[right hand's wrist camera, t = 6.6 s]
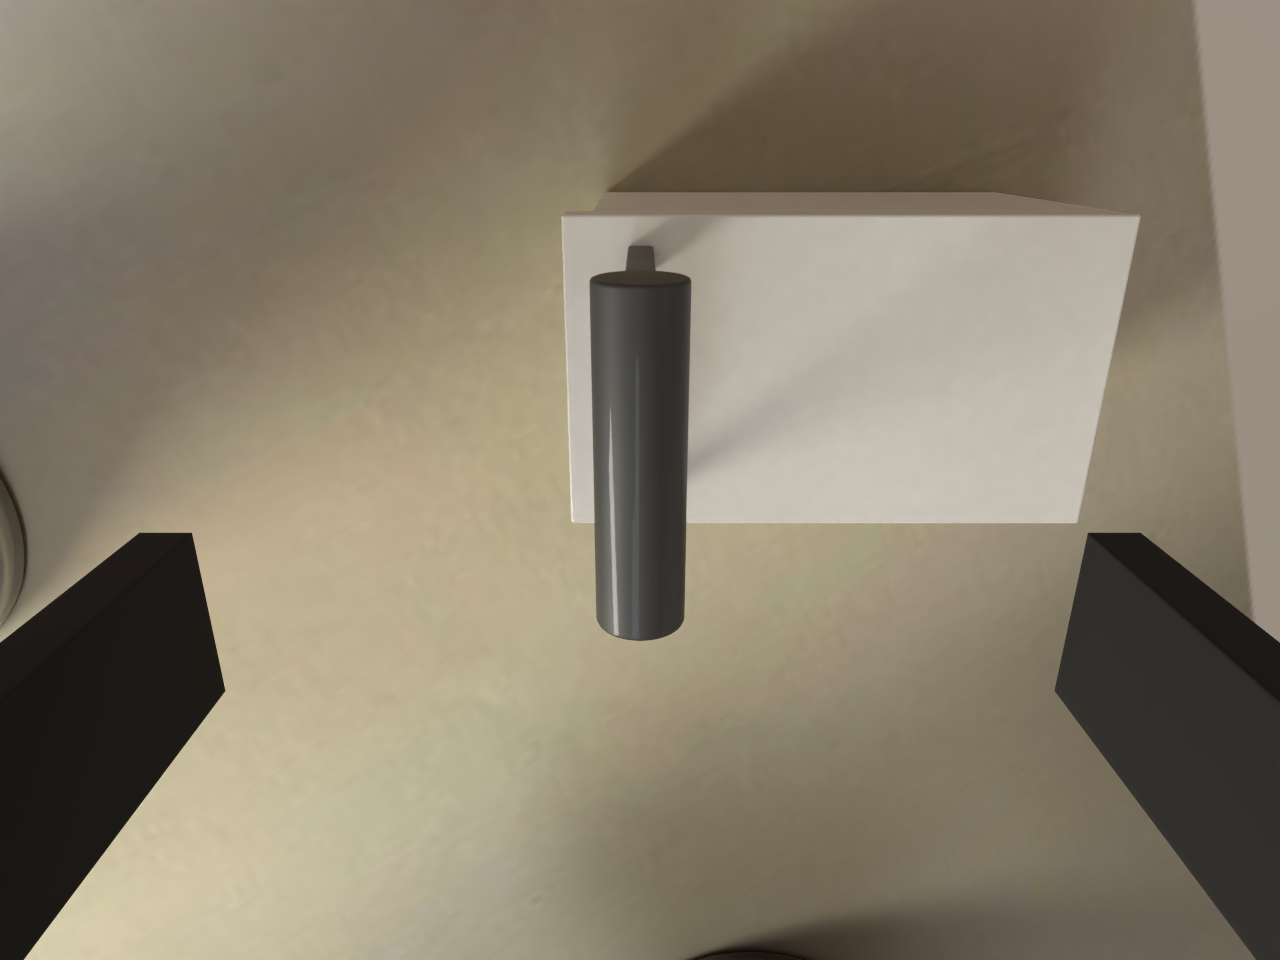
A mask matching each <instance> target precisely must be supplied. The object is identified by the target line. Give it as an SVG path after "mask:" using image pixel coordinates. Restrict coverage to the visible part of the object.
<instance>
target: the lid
mask: <svg viewBox="0 0 1280 960" xmlns="http://www.w3.org/2000/svg"><path fill="white" fill-rule="evenodd" d="M1140 220H1141V216H1140V215H1138V214H1133V213H1126V212H1120V211H567V212H565V213H564V214H563V215H562V217H561V222H562V253H563V283H564V314H565V345H566V376H567V407H568V438H569V469H570V499H571V521H572V522H573V523H595V566H596V613H597V621H598V623H599V625H600V626H601V628H602V629H603V630H605V631H606V632H607V633H609V634H611V635H613V636H616V637H619V638H622V639H627V640H636V641H645V640H654V639H659V638H662V637H665V636H668V635H670V634H672V633H673V632H675V631H676V630H677V629H678V628H679V627H680V626H681V624H682V623H683V620H684V605H685V559H686V523H1077V522H1078V520H1079V515H1080V510H1081V506H1082V501H1083V496H1084V491H1085V486H1086V481H1087V477H1088V472H1089V467H1090V462H1091V457H1092V452H1093V447H1094V443H1095V438H1096V433H1097V428H1098V423H1099V418H1100V413H1101V409H1102V404H1103V399H1104V394H1105V389H1106V384H1107V380H1108V375H1109V370H1110V365H1111V360H1112V355H1113V350H1114V346H1115V341H1116V336H1117V331H1118V326H1119V321H1120V317H1121V312H1122V307H1123V302H1124V297H1125V292H1126V287H1127V283H1128V278H1129V273H1130V268H1131V263H1132V258H1133V253H1134V249H1135V244H1136V239H1137V234H1138V229H1139V224H1140Z"/></svg>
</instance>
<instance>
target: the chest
mask: <svg viewBox="0 0 1280 960" xmlns="http://www.w3.org/2000/svg"><path fill="white" fill-rule="evenodd" d="M594 211H1114V210H1107V209H1101V208H1094V207H1088V206H1081V205H1075V204H1068V203H1062V202H1055V201H1049V200H1042V199H1035V198H1029V197H1022V196H1016V195H1009V194H1003V193H996V192H606V193H605V194H604V196H603V197H602V199H601V200H600V202H599V203H598V205H597V206H596V208H595V209H594Z"/></svg>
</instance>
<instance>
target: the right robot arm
mask: <svg viewBox="0 0 1280 960" xmlns="http://www.w3.org/2000/svg"><path fill="white" fill-rule="evenodd" d="M23 572H24V544H23V536H22V532H21V527H20V522H19V519H18V516H17V513H16V510H15V507H14V505H13V502H12V500H11V498H10V495H9V493H8V491H7V489H6V487H5V485H4V483H3V482H2V480H1V478H0V626H1V625H2V623H3V622H4V621H5V619H6V618H7V617H8V615H9V613H10V612H11V610H12V608H13V606H14V604H15V602H16V600H17V597H18V595H19V591H20V588H21V584H22V580H23ZM224 692H225V687H224V682H223V677H222V673H221V668H220V663H219V659H218V654H217V649H216V644H215V640H214V635H213V630H212V626H211V621H210V616H209V611H208V607H207V602H206V597H205V593H204V588H203V583H202V578H201V574H200V569H199V564H198V560H197V555H196V550H195V545H194V541H193V536H192V533H139V534H138V535H136V536H135V537H134V538H132V539H131V540H130V541H129V542H127V543H126V544H125V545H124V546H122V547H121V548H120V549H119V550H117V551H116V552H115V553H113V554H112V555H111V556H110V557H108V558H107V559H106V560H105V561H103V562H102V563H101V564H99V565H98V566H97V567H96V568H94V569H93V570H92V571H91V572H89V573H88V574H87V575H86V576H84V577H83V578H82V579H80V580H79V581H78V582H77V583H75V584H74V585H73V586H72V587H70V588H69V589H68V590H67V591H65V592H64V593H63V594H61V595H60V596H59V597H58V598H56V599H55V600H54V601H53V602H51V603H50V604H49V605H48V606H46V607H45V608H44V609H42V610H41V611H40V612H39V613H37V614H36V615H35V616H34V617H32V618H31V619H30V620H28V621H27V622H26V623H25V624H23V625H22V626H21V627H20V628H18V629H17V630H16V631H15V632H13V633H12V634H11V635H9V636H8V637H7V638H6V639H4V640H3V641H2V642H1V643H0V960H24V959H25V957H26V956H27V955H28V953H29V952H30V951H31V949H32V948H33V947H34V945H35V944H36V943H37V941H38V940H39V939H40V937H41V936H42V935H43V933H44V932H45V931H46V929H47V928H48V927H49V925H50V924H51V923H52V921H53V920H54V919H55V917H56V916H57V915H58V913H59V912H60V911H61V909H62V908H63V907H64V905H65V904H66V903H67V901H68V900H69V899H70V897H71V896H72V895H73V893H74V892H75V891H76V889H77V888H78V887H79V885H80V884H81V883H82V881H83V880H84V879H85V877H86V876H87V875H88V873H89V872H90V871H91V869H92V868H93V867H94V865H95V864H96V863H97V861H98V860H99V859H100V857H101V856H102V855H103V853H104V852H105V851H106V849H107V848H108V847H109V845H110V844H111V843H112V841H113V840H114V839H115V837H116V836H117V835H118V833H119V832H120V831H121V829H122V828H123V827H124V825H125V824H126V823H127V821H128V820H129V819H130V817H131V816H132V815H133V813H134V812H135V811H136V809H137V808H138V807H139V805H140V804H141V803H142V801H143V800H144V799H145V797H146V796H147V795H148V793H149V792H150V791H151V789H152V788H153V787H154V785H155V784H156V783H157V781H158V780H159V779H160V777H161V776H162V775H163V773H164V772H165V771H166V769H167V768H168V767H169V765H170V764H171V763H172V761H173V760H174V759H175V757H176V756H177V755H178V753H179V752H180V751H181V749H182V748H183V747H184V745H185V744H186V743H187V741H188V740H189V739H190V737H191V736H192V735H193V733H194V732H195V731H196V729H197V728H198V727H199V725H200V724H201V723H202V721H203V720H204V719H205V717H206V716H207V715H208V713H209V712H210V711H211V709H212V708H213V707H214V705H215V704H216V703H217V701H218V700H219V699H220V697H221V696H222V695H223V693H224ZM1055 692H1056V693H1057V695H1058V696H1059V697H1060V699H1061V700H1062V701H1063V703H1064V704H1065V705H1066V707H1067V708H1068V709H1069V711H1070V712H1071V713H1072V715H1073V716H1074V717H1075V719H1076V720H1077V721H1078V723H1079V724H1080V725H1081V727H1082V728H1083V729H1084V731H1085V732H1086V733H1087V735H1088V736H1089V737H1090V739H1091V740H1092V741H1093V743H1094V744H1095V745H1096V747H1097V748H1098V749H1099V751H1100V752H1101V753H1102V755H1103V756H1104V757H1105V759H1106V760H1107V761H1108V763H1109V764H1110V765H1111V767H1112V768H1113V769H1114V771H1115V772H1116V773H1117V775H1118V776H1119V777H1120V779H1121V780H1122V781H1123V783H1124V784H1125V785H1126V787H1127V788H1128V789H1129V791H1130V792H1131V793H1132V795H1133V796H1134V797H1135V799H1136V800H1137V801H1138V803H1139V804H1140V805H1141V807H1142V808H1143V809H1144V811H1145V812H1146V813H1147V815H1148V816H1149V817H1150V819H1151V820H1152V821H1153V823H1154V824H1155V825H1156V827H1157V828H1158V829H1159V831H1160V832H1161V833H1162V835H1163V836H1164V837H1165V839H1166V840H1167V841H1168V843H1169V844H1170V845H1171V847H1172V848H1173V849H1174V851H1175V852H1176V853H1177V855H1178V856H1179V857H1180V859H1181V860H1182V861H1183V863H1184V864H1185V865H1186V867H1187V868H1188V869H1189V871H1190V872H1191V873H1192V875H1193V876H1194V877H1195V879H1196V880H1197V881H1198V883H1199V884H1200V885H1201V887H1202V888H1203V889H1204V891H1205V892H1206V893H1207V895H1208V896H1209V897H1210V899H1211V900H1212V901H1213V903H1214V904H1215V905H1216V907H1217V908H1218V909H1219V911H1220V912H1221V913H1222V915H1223V916H1224V917H1225V919H1226V920H1227V921H1228V923H1229V924H1230V925H1231V927H1232V928H1233V929H1234V931H1235V932H1236V933H1237V935H1238V936H1239V937H1240V939H1241V940H1242V941H1243V943H1244V944H1245V945H1246V947H1247V948H1248V949H1249V951H1250V952H1251V953H1252V955H1253V956H1254V957H1255V959H1256V960H1280V643H1279V642H1278V641H1277V640H1276V639H1274V638H1273V637H1272V636H1270V635H1269V634H1268V633H1267V632H1265V631H1264V630H1263V629H1262V628H1260V627H1259V626H1258V625H1257V624H1255V623H1254V622H1253V621H1252V620H1250V619H1249V618H1248V617H1246V616H1245V615H1244V614H1243V613H1241V612H1240V611H1239V610H1238V609H1236V608H1235V607H1234V606H1232V605H1231V604H1230V603H1229V602H1227V601H1226V600H1225V599H1224V598H1222V597H1221V596H1220V595H1219V594H1217V593H1216V592H1215V591H1213V590H1212V589H1211V588H1210V587H1208V586H1207V585H1206V584H1205V583H1203V582H1202V581H1201V580H1200V579H1198V578H1197V577H1196V576H1194V575H1193V574H1192V573H1191V572H1189V571H1188V570H1187V569H1186V568H1184V567H1183V566H1182V565H1181V564H1179V563H1178V562H1177V561H1175V560H1174V559H1173V558H1172V557H1170V556H1169V555H1168V554H1167V553H1165V552H1164V551H1163V550H1161V549H1160V548H1159V547H1158V546H1156V545H1155V544H1154V543H1153V542H1151V541H1150V540H1149V539H1148V538H1146V537H1145V536H1144V535H1142V534H1141V533H1088V536H1087V541H1086V545H1085V550H1084V555H1083V560H1082V564H1081V569H1080V574H1079V578H1078V583H1077V588H1076V593H1075V597H1074V602H1073V607H1072V611H1071V616H1070V621H1069V626H1068V630H1067V635H1066V640H1065V644H1064V649H1063V654H1062V659H1061V663H1060V668H1059V673H1058V677H1057V682H1056V687H1055Z"/></svg>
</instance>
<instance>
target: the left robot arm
mask: <svg viewBox="0 0 1280 960" xmlns="http://www.w3.org/2000/svg"><path fill="white" fill-rule="evenodd" d="M698 960H803V959H799V958H796V957H792V956H787V955H782V954H775V953H766V952H736V953H727V954H720V955H714V956H710V957H706V958H702V959H698Z"/></svg>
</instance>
